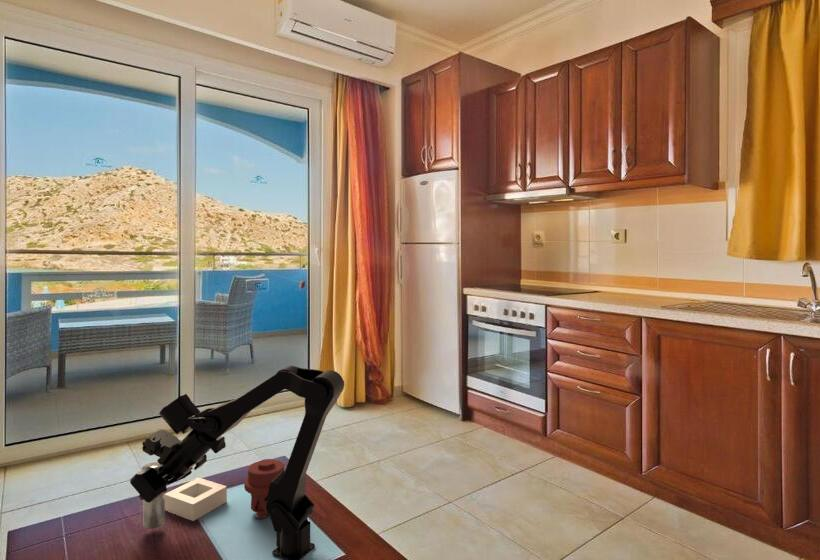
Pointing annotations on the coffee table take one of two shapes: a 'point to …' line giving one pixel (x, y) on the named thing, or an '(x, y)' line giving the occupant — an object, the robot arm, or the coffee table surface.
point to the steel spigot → (154, 506)
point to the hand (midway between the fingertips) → (148, 492)
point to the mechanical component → (261, 483)
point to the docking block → (195, 498)
